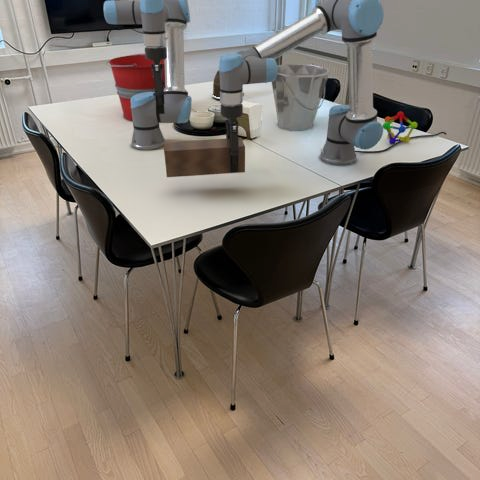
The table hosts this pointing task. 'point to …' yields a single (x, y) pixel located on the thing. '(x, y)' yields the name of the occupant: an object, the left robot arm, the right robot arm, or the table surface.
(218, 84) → the bell
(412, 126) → the educational toy
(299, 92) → the bucket
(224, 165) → the box
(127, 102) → the bucket
